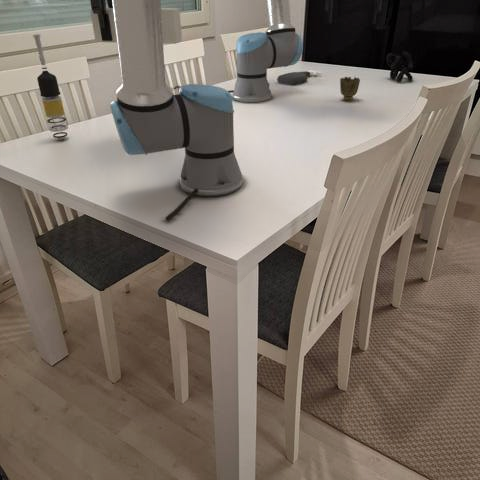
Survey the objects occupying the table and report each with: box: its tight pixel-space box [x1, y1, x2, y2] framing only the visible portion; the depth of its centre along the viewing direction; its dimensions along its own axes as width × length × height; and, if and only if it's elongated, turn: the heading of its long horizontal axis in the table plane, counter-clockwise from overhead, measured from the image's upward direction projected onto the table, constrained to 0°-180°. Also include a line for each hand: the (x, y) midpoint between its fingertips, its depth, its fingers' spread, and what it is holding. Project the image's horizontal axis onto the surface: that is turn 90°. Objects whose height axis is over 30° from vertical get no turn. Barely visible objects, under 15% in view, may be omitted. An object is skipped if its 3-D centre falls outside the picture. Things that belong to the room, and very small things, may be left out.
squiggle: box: [385, 51, 414, 83], centre depth 198 cm, size 11×10×15 cm
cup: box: [339, 76, 361, 102], centre depth 171 cm, size 8×7×8 cm
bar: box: [89, 7, 183, 45], centre depth 120 cm, size 23×5×8 cm, turn 77°
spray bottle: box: [276, 69, 322, 86], centre depth 204 cm, size 3×11×25 cm
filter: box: [32, 33, 69, 140], centre depth 132 cm, size 6×6×30 cm
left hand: (112, 38), depth 123 cm, fingers closed on bar, 5 cm apart
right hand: (351, 23), depth 139 cm, fingers open, 13 cm apart
